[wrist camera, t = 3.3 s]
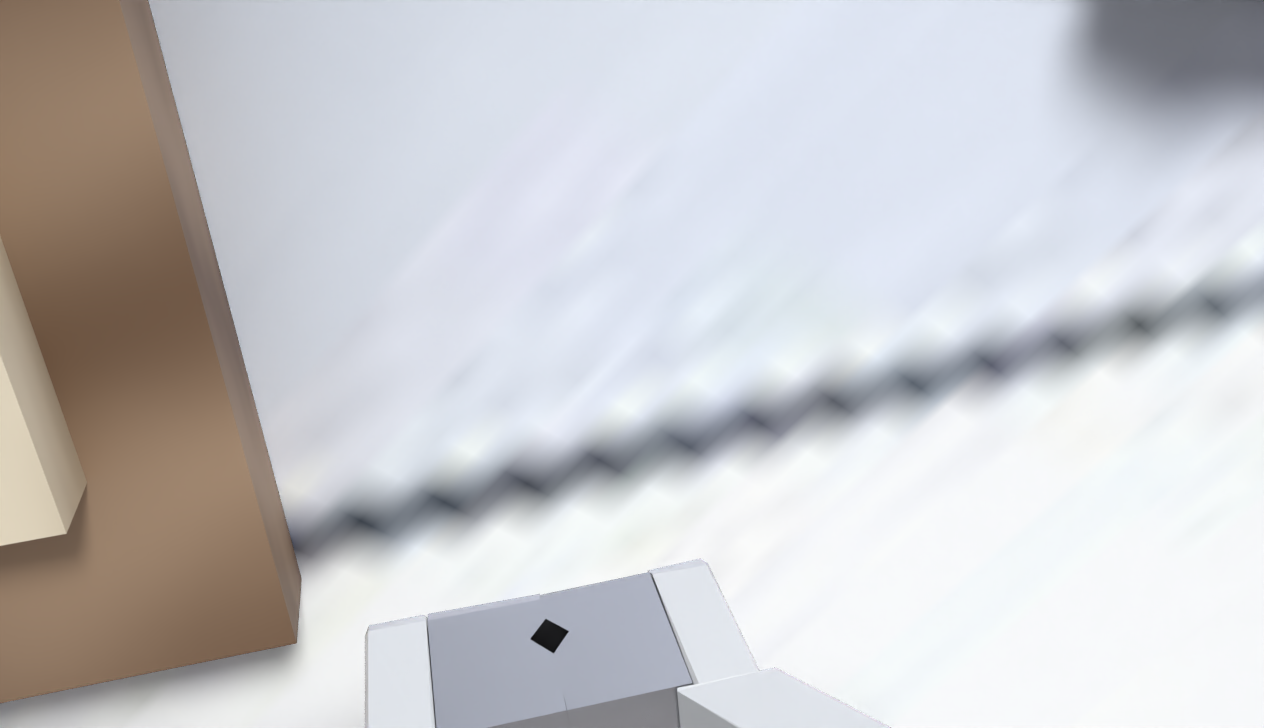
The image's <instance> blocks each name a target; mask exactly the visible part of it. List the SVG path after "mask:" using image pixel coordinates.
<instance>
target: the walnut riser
mask: <svg viewBox="0 0 1264 728" xmlns="http://www.w3.org/2000/svg"><path fill="white" fill-rule="evenodd" d="M0 237H1V239H2V242H3V245H4V248H5V251H6V254H7V256H8V259H9V262H10V265H11V268H12V271H13V274H14V276H15V279H16V282H17V285H18V288H19V291H20V293H21V296H22V299H23V302H24V305H25V308H26V310H27V313H28V316H29V319H30V322H31V325H32V327H33V330H34V333H35V336H36V339H37V342H38V345H39V347H40V350H41V353H42V356H43V359H44V362H45V364H46V367H47V370H48V373H49V376H50V379H51V381H52V384H53V387H54V390H55V393H56V396H57V398H58V401H59V404H60V407H61V410H62V413H63V416H64V418H65V421H66V424H67V427H68V430H69V433H70V435H71V438H72V441H73V444H74V447H75V450H76V452H77V455H78V458H79V461H80V464H81V467H82V469H83V472H84V475H85V478H86V481H87V484H86V487H85V489H84V492H83V494H82V497H81V499H80V502H79V504H78V507H77V509H76V512H75V514H74V517H73V519H72V522H71V524H70V526H69V529H68V531H67V534H62V535H57V536H51V537H46V538H40V539H35V540H29V541H24V542H18V543H13V544H7V545H2V546H0V703H4V702H9V701H14V700H19V699H24V698H28V697H33V696H38V695H43V694H48V693H53V692H58V691H63V690H68V689H73V688H78V687H83V686H88V685H93V684H98V683H103V682H108V681H113V680H117V679H122V678H127V677H132V676H137V675H142V674H147V673H152V672H157V671H162V670H167V669H172V668H177V667H182V666H187V665H192V664H197V663H202V662H206V661H211V660H216V659H221V658H226V657H231V656H236V655H241V654H246V653H251V652H256V651H261V650H266V649H271V648H276V647H281V646H286V645H291V644H295V643H297V631H298V618H299V604H300V591H301V575H300V571H299V568H298V564H297V560H296V556H295V553H294V549H293V545H292V541H291V538H290V534H289V530H288V526H287V522H286V519H285V515H284V511H283V507H282V504H281V500H280V496H279V492H278V489H277V485H276V481H275V477H274V473H273V470H272V466H271V462H270V458H269V455H268V451H267V447H266V443H265V440H264V436H263V432H262V428H261V424H260V421H259V417H258V413H257V409H256V406H255V402H254V398H253V394H252V390H251V387H250V383H249V379H248V375H247V372H246V368H245V364H244V360H243V357H242V353H241V349H240V345H239V341H238V338H237V334H236V330H235V326H234V323H233V319H232V315H231V311H230V308H229V304H228V300H227V296H226V292H225V289H224V285H223V281H222V277H221V274H220V270H219V266H218V262H217V259H216V255H215V251H214V247H213V243H212V240H211V236H210V232H209V228H208V225H207V221H206V217H205V213H204V209H203V206H202V202H201V198H200V194H199V191H198V187H197V183H196V179H195V176H194V172H193V168H192V164H191V160H190V157H189V153H188V149H187V145H186V142H185V138H184V134H183V130H182V127H181V123H180V119H179V115H178V111H177V108H176V104H175V100H174V96H173V93H172V89H171V85H170V81H169V77H168V74H167V70H166V66H165V62H164V59H163V55H162V51H161V47H160V44H159V40H158V36H157V32H156V28H155V25H154V21H153V17H152V13H151V10H150V6H149V2H148V0H0Z"/></svg>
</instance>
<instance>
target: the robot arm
mask: <svg viewBox="0 0 1264 728" xmlns="http://www.w3.org/2000/svg"><path fill="white" fill-rule="evenodd" d="M365 728H891V727H889V726H887V725H885V724H883V723H881V722H880V721H878V720H876V719H874V718H872V717H870V716H868V715H866V714H864V713H862V712H860V711H858V710H857V709H855V708H853V707H851V706H849V705H847V704H845V703H843V702H841V701H839V700H837V699H835V698H834V697H832V696H830V695H828V694H826V693H824V692H822V691H820V690H818V689H816V688H814V687H812V686H811V685H809V684H807V683H805V682H803V681H801V680H799V679H797V678H795V677H793V676H791V675H789V674H788V673H786V672H784V671H782V670H780V669H778V668H775V667H774V668H770V669H765V670H759V668H758V666H757V664H756V662H755V660H754V658H753V656H752V654H751V652H750V650H749V647H748V645H747V643H746V641H745V639H744V637H743V635H742V633H741V631H740V629H739V627H738V625H737V623H736V621H735V619H734V616H733V614H732V612H731V610H730V608H729V606H728V604H727V602H726V600H725V598H724V596H723V594H722V592H721V590H720V588H719V585H718V583H717V581H716V579H715V577H714V575H713V573H712V571H711V569H710V567H709V565H708V563H707V562H705V561H704V560H702V559H701V558H700V559H696V560H692V561H687V562H683V563H679V564H675V565H670V566H666V567H662V568H657V569H653V570H649V571H648V572H647V573H643V574H638V575H633V576H628V577H624V578H619V579H614V580H609V581H605V582H600V583H595V584H590V585H586V586H581V587H576V588H571V589H567V590H562V591H557V592H552V593H548V594H543V595H540V594H537V595H531V596H526V597H520V598H515V599H509V600H503V601H498V602H492V603H487V604H481V605H475V606H470V607H464V608H459V609H453V610H448V611H442V612H436V613H431V614H428V618H427V617H426V616H424V615H420V616H415V617H410V618H405V619H400V620H395V621H390V622H385V623H380V624H375V625H370V626H369V627H368V630H367V632H366V635H365Z"/></svg>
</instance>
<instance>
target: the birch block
mask: <svg viewBox="0 0 1264 728" xmlns="http://www.w3.org/2000/svg"><path fill="white" fill-rule="evenodd" d="M86 484H87V481H86V478H85V475H84V472H83V469H82V467H81V464H80V461H79V458H78V455H77V452H76V450H75V447H74V444H73V441H72V438H71V435H70V433H69V430H68V427H67V424H66V421H65V418H64V416H63V413H62V410H61V407H60V404H59V401H58V398H57V396H56V393H55V390H54V387H53V384H52V381H51V379H50V376H49V373H48V370H47V367H46V364H45V362H44V359H43V356H42V353H41V350H40V347H39V345H38V342H37V339H36V336H35V333H34V330H33V327H32V325H31V322H30V319H29V316H28V313H27V310H26V308H25V305H24V302H23V299H22V296H21V293H20V291H19V288H18V285H17V282H16V279H15V276H14V274H13V271H12V268H11V265H10V262H9V259H8V256H7V254H6V251H5V248H4V245H3V242H2V239H1V237H0V546H2V545H7V544H13V543H18V542H24V541H29V540H35V539H40V538H46V537H51V536H57V535H62V534H67V531H68V529H69V526H70V524H71V522H72V519H73V517H74V514H75V512H76V509H77V507H78V504H79V502H80V499H81V497H82V494H83V492H84V489H85V487H86Z"/></svg>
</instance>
